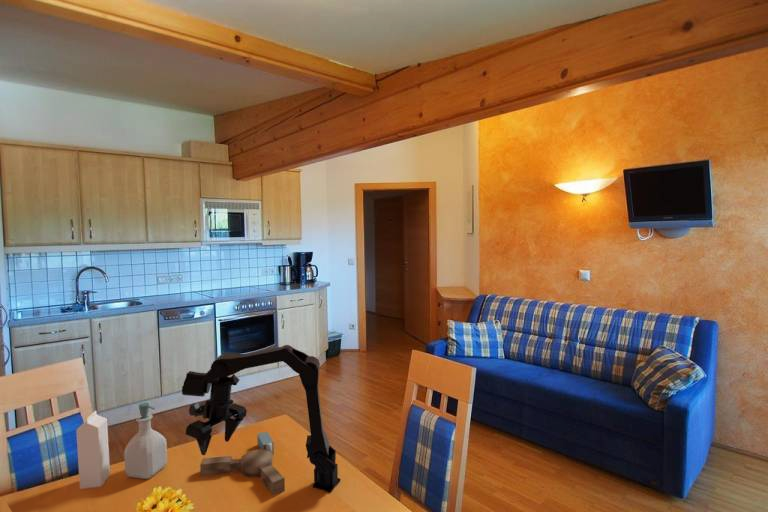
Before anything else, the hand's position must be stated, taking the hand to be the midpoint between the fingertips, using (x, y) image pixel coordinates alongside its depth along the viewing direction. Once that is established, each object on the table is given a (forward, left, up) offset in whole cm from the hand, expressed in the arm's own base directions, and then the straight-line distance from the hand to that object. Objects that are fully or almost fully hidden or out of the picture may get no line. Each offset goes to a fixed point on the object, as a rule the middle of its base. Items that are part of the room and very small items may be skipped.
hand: (215, 447), depth 123 cm
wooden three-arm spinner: (-3, -12, -14) cm, 18 cm away
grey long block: (+1, -24, -14) cm, 28 cm away
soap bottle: (+29, +1, -14) cm, 32 cm away
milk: (+39, +11, -14) cm, 43 cm away
